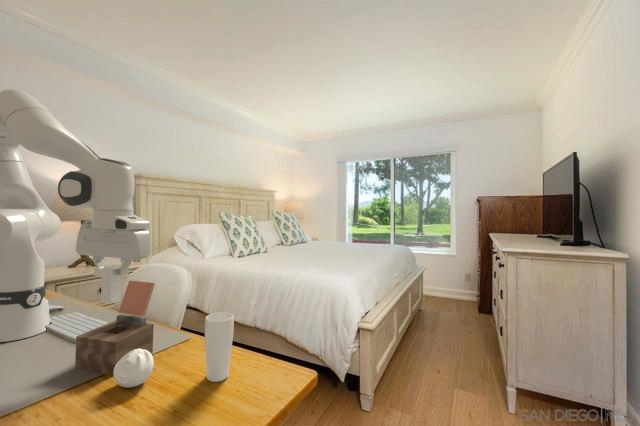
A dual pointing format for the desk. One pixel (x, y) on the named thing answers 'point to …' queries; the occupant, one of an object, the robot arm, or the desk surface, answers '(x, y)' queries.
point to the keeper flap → (136, 298)
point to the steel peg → (109, 283)
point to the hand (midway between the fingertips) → (111, 274)
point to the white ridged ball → (133, 368)
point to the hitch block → (112, 343)
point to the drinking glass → (218, 345)
